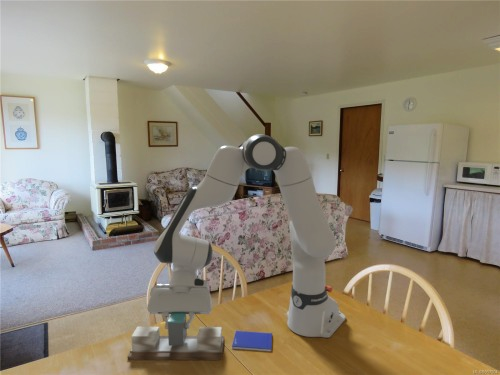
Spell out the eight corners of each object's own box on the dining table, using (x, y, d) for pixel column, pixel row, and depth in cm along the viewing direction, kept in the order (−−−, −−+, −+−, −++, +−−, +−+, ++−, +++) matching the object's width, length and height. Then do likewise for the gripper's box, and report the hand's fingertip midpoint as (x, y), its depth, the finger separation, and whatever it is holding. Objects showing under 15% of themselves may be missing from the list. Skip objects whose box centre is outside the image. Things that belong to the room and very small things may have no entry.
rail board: (224, 338, 104) (223, 322, 103) (221, 359, 94) (220, 341, 93) (139, 338, 104) (138, 322, 103) (127, 359, 94) (126, 341, 93)
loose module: (186, 335, 101) (186, 312, 100) (183, 345, 96) (182, 321, 95) (172, 335, 101) (171, 312, 100) (168, 345, 96) (167, 321, 95)
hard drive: (231, 345, 99) (271, 348, 98) (235, 329, 107) (272, 332, 106) (231, 350, 99) (271, 352, 98) (235, 334, 107) (272, 336, 106)
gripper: (149, 281, 103) (140, 326, 95) (212, 281, 103) (208, 326, 95) (154, 287, 108) (146, 330, 100) (213, 287, 108) (210, 331, 100)
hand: (177, 328), depth 97 cm, fingers closed on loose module, 4 cm apart
